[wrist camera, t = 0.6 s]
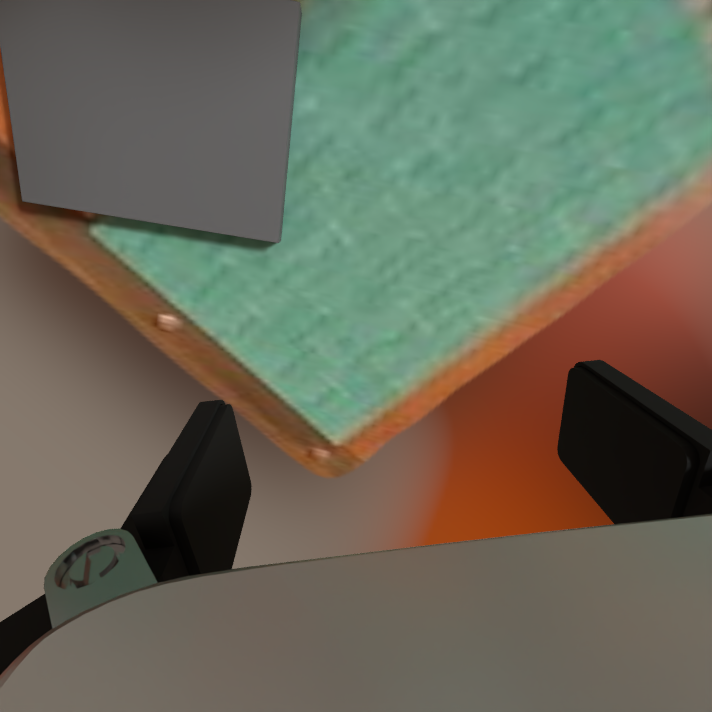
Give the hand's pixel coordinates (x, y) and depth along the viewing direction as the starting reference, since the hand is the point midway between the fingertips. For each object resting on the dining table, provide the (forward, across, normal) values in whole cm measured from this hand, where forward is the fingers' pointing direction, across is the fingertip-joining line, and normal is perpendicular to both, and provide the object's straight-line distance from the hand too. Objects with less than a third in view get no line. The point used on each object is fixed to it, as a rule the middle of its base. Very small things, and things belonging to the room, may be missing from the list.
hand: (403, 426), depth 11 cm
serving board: (+31, +15, -13) cm, 37 cm away
